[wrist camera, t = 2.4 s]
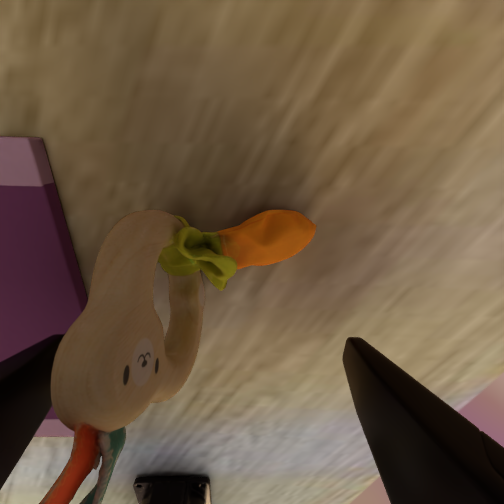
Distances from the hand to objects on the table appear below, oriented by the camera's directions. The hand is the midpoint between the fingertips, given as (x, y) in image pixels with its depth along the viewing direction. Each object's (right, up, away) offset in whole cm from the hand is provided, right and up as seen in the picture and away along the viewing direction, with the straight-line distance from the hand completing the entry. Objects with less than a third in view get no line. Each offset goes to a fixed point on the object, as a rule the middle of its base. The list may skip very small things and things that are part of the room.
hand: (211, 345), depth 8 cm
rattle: (0, +3, +6) cm, 6 cm away
